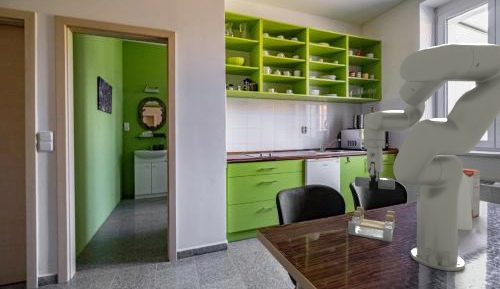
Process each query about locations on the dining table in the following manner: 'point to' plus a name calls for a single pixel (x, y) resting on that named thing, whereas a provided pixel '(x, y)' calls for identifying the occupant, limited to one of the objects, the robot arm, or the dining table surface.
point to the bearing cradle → (370, 223)
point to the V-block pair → (371, 230)
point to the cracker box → (474, 189)
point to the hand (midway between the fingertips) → (374, 189)
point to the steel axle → (381, 182)
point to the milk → (464, 205)
